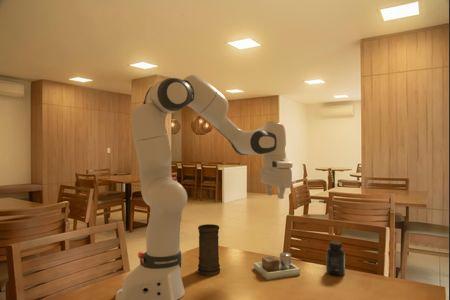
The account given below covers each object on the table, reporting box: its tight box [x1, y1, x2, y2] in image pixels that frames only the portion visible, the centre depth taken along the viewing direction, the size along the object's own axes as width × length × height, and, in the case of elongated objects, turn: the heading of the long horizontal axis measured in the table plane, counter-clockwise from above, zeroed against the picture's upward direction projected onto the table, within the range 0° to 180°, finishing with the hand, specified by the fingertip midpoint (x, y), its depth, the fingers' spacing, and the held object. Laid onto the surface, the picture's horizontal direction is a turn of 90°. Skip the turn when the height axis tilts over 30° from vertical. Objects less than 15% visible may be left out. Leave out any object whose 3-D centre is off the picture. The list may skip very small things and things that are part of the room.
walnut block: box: [261, 255, 280, 272], centre depth 130 cm, size 5×5×5 cm
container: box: [197, 223, 221, 277], centre depth 132 cm, size 9×9×18 cm
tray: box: [253, 259, 301, 281], centre depth 132 cm, size 14×12×2 cm
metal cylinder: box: [279, 252, 292, 271], centre depth 132 cm, size 4×4×6 cm
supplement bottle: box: [325, 240, 346, 277], centre depth 130 cm, size 7×7×12 cm
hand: (275, 196), depth 135 cm, fingers open, 8 cm apart
